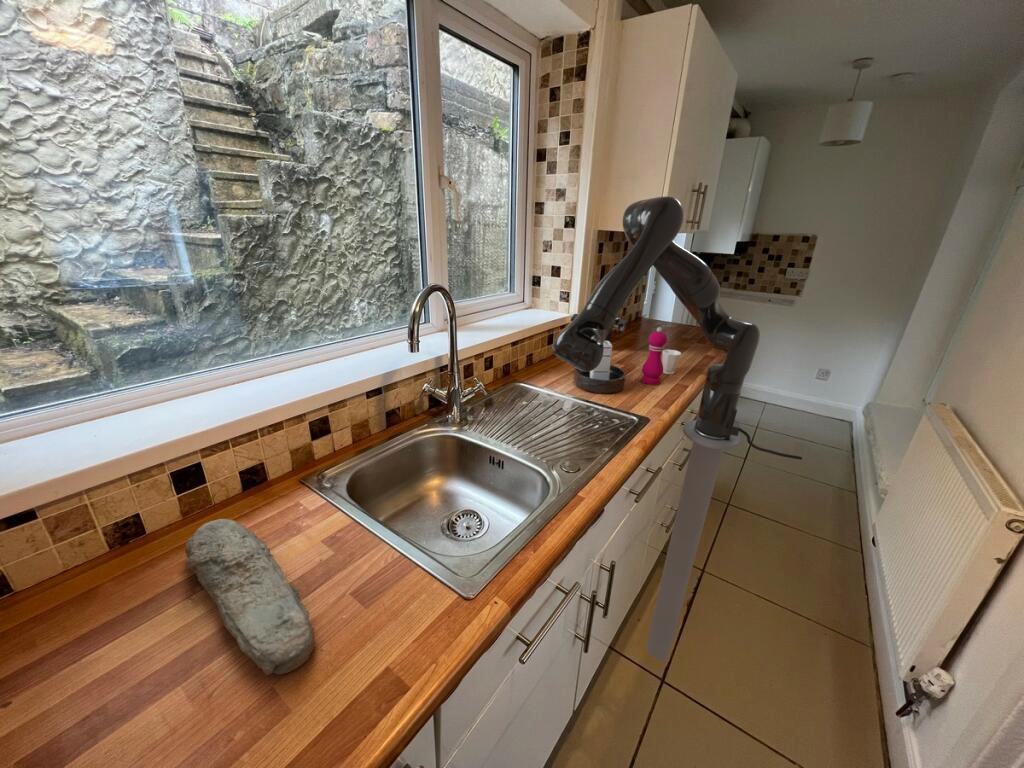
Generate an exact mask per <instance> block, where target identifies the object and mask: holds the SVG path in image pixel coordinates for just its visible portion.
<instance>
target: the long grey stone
mask: <svg viewBox="0 0 1024 768" xmlns="http://www.w3.org/2000/svg"><path fill="white" fill-rule="evenodd" d="M184 551H185V552H184V553H185V556H186V557H187V558H186V559H185V563H186V565H187V566H186V567H187V568H188V570H190V571H193V573H194V574H195V575H196V576H197V580H198V582H199V583H200V585H201V586H202V587H203V588H204V589H205V590H206V592H207V593H208V595H209V596H210V598H211V599H212V601H213V602H214V603H215V605H216V606H217V608H218V612H219V613H218V614H219V616H220V617H221V618H222V620H223V626H224V628H226V630H227V631H228V633H230V634H231V637H232V638H234V639H235V640H236V643H237V646H238V647H239V650H240V651H241V652H243V654H244V655H245V657H248V658H249V659H250V660H251V661H252V662H253V663H255V664H256V666H257V668H258V669H261V670H262V672H263V673H264V675H265V676H270V675H272V674H273V673H274V674H276V675H284V674H288V673H290V672H292V671H294V670H297V668H299V667H301V666H302V665H303V664H305V663H306V662H307V661H308V659H310V655H311V654H312V652H313V650H314V647H315V639H314V638H315V632H314V630H315V628H314V627H313V626H312V624H311V620H310V614H309V611H308V610H307V609H306V607H305V606H304V604H303V603H302V602H301V597H300V593H299V592H300V591H299V589H297V588H296V587H295V586H294V585H293V584H292V583H291V582H289V581H288V579H287V577H286V575H285V573H284V571H283V569H282V567H281V565H280V564H279V563H278V562H277V560H276V559H274V554H272V553H271V548H270V547H268V545H267V543H266V542H265V541H264V540H261V539H260V538H259V537H258V535H257V534H256V533H255V532H252V531H250V530H249V529H248V528H247V526H246V525H241V524H240V523H239V522H237V521H235V520H232V519H229V518H219V519H213V520H210V521H208V522H206V523H204V524H202V525H201V526H199V527H198V528H197V529H196V531H194V534H193V535H192V536H191V537H188V538H187V542H186V544H185V550H184Z"/></svg>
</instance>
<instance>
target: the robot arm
mask: <svg viewBox="0 0 1024 768" xmlns="http://www.w3.org/2000/svg"><path fill="white" fill-rule="evenodd" d="M683 222H684V208H683V206H682V204H681V202H680V201H679V200H678V199H677V198H675V197H673V196H668V195H667V196H666V195H665V196H657V197H652V198H651V197H650V198H646V199H641V200H638V201H635V202H632V203H630V204H629V205H628V206H627V207H626V209H625V210H624V212H623V216H622V229H623V232H624V234H625V237H626V238H627V240H628V241H629V243H630V244H631V245H632V246H633V247H632V248H631V250H629V252H628V253H627V254H626V255H625V256H624V257H623V258H622V259H621V260H620V261H619V262H618V263H617V264H616V265H615V266H614V267H612V268H611V269H610V270H609V271H608V273H606V274H605V275H604V276H603V277H602V279H601V280H600V281H599V282H598V283H597V285H596V286H595V288H594V289H593V291H592V293H591V295H590V296H589V298H588V299H587V301H586V303H585V305H584V306H583V308H582V309H581V310H580V312H579V313H578V314H577V313H574V314H573V315H572V316H571V317H570V323H569V324H568V325H567V326H566V327H564V328H563V329H562V330H561V331H560V332H559V333H558V335H556V337H555V338H554V340H553V343H552V352H553V355H554V356H555V357H556V358H558V359H560V360H562V361H563V362H565V363H567V364H568V365H570V366H572V367H574V369H575V368H577V369H579V370H581V371H584V372H589V371H592V370H594V369H595V368H596V367H597V366H598V365H599V364H600V362H601V360H602V357H603V352H604V346H603V342H604V340H605V339H606V337H607V335H608V333H609V331H612V330H613V329H614V331H616V332H617V333H618V334H624V332H625V330H626V328H627V321H628V319H626V318H622V317H620V315H619V314H620V312H621V311H622V309H623V307H624V305H625V304H626V302H627V301H628V299H629V298H630V296H631V294H632V293H633V291H634V290H635V289H636V287H637V286H638V284H639V283H640V282H641V280H642V279H643V278H644V277H645V276H646V274H647V273H648V272H649V270H650V269H651V268H652V267H654V268H655V270H656V271H657V272H658V274H659V275H660V276H661V278H662V279H663V280H664V281H665V283H666V284H667V285H668V286H669V288H670V289H671V291H672V292H673V294H674V295H675V296H676V297H677V299H678V300H679V301H680V303H681V304H682V305H683V306H684V307H685V308H686V310H687V311H688V312H689V314H690V315H691V316H692V318H693V319H694V320H695V321H696V322H697V324H698V326H699V327H700V329H701V331H702V333H703V335H704V336H705V338H706V340H707V342H708V343H709V345H710V346H711V347H712V348H713V349H715V350H717V351H719V352H721V353H724V354H726V357H725V360H724V362H715V363H711V364H710V365H709V366H708V368H707V372H706V375H705V381H704V384H703V389H702V392H701V393H702V394H701V398H700V403H699V405H698V406H699V407H698V411H697V415H696V419H695V420H696V423H695V427H694V430H695V432H696V433H697V434H699V435H700V436H702V437H705V438H708V439H712V440H727V441H729V439H730V436H731V435H734V436H738V434H739V433H742V434H743V435H744V436H745V437H746V442H747V443H748V445H749V446H751V447H752V448H753V449H755V450H758V451H761V452H764V453H769V454H771V455H776V456H779V457H783V458H788V459H789V458H790V459H795V460H801V461H802V460H803V456H799V455H794V454H788V453H782V452H778V451H775V450H771V449H767V448H763V447H760V446H757V445H756V444H754V443H753V442H752V441H751V436H750V435H749V433H748V432H747V431H746V430H744V429H742V428H741V427H740V421H739V420H736V416H737V413H738V405H739V401H740V397H741V393H742V391H743V386H744V383H745V379H746V376H747V375H748V373H749V372H750V371H751V367H752V365H753V361H754V358H755V355H756V351H757V350H758V347H759V343H760V337H761V333H760V329H759V327H758V326H757V325H756V324H754V323H752V322H748V321H745V320H742V319H738V318H734V317H732V316H730V315H729V314H728V313H727V312H726V311H725V310H724V308H723V307H722V306H721V304H720V299H721V294H722V289H721V284H720V282H719V280H718V278H717V276H716V275H715V274H714V272H713V270H712V269H711V268H710V266H709V265H708V264H707V263H706V262H705V261H704V260H702V259H701V258H700V257H698V256H697V255H695V254H694V253H692V252H691V251H689V250H687V249H686V248H684V247H683V246H681V245H679V244H678V243H677V242H675V238H676V237H677V236H678V234H679V233H680V230H681V229H682V227H683ZM614 322H615V324H614Z"/></svg>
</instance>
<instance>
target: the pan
mask: <svg viewBox="0 0 1024 768" xmlns="http://www.w3.org/2000/svg"><path fill="white" fill-rule="evenodd" d="M573 370H574V371H573V383H574V384H575V385H576V386H577V387H578V388H579V389H581V390H584V391H585V392H589V393H594V394H607V395H608V394H614V393H617V392H619V391H621V390H623V389H624V387H625V386H626V385H625V384H626V378H627V373H626V371H625V370H624V369H622V368H621V367H618V366H616V365H613V364H610V373H609V380H598V379H593V378H590V371H589V372H584V371H581V370H579V369H577V368H575V367H574V369H573Z"/></svg>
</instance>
